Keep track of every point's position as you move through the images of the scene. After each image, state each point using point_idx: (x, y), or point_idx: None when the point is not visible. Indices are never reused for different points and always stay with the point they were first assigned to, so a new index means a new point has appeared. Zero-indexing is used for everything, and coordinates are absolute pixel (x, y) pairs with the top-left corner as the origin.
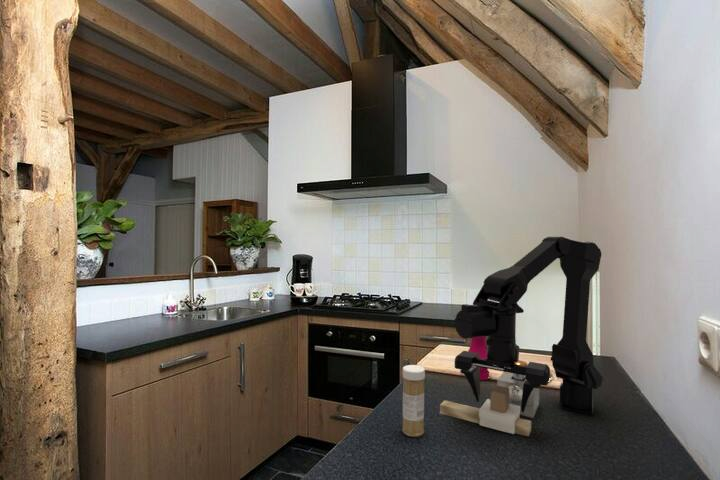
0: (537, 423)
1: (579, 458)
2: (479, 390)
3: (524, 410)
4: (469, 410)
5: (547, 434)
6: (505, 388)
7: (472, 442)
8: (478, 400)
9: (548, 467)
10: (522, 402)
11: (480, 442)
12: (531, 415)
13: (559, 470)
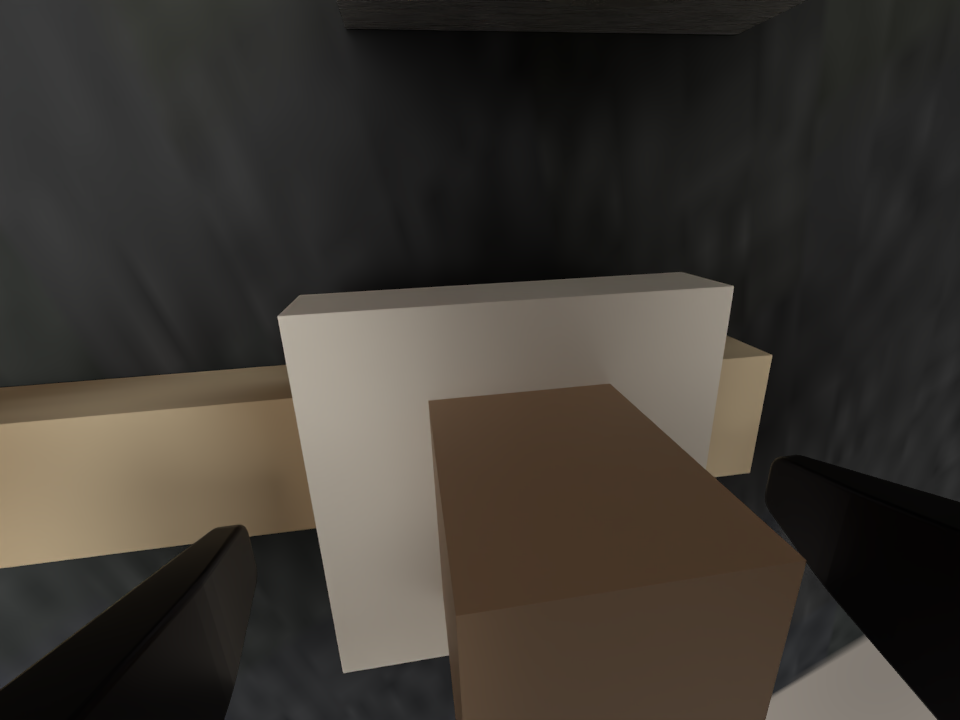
0: (765, 148)
1: (942, 493)
2: (170, 685)
3: (685, 8)
4: (187, 511)
5: (821, 315)
6: (722, 628)
7: (404, 702)
8: (249, 604)
9: (786, 653)
10: (894, 654)
11: (444, 675)
12: (733, 25)
13: (828, 644)
